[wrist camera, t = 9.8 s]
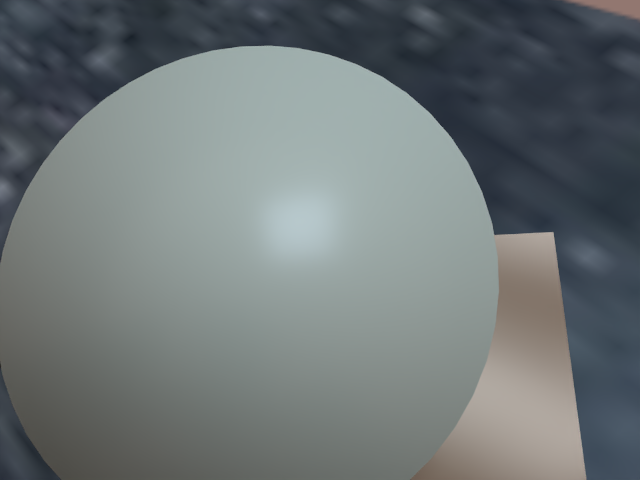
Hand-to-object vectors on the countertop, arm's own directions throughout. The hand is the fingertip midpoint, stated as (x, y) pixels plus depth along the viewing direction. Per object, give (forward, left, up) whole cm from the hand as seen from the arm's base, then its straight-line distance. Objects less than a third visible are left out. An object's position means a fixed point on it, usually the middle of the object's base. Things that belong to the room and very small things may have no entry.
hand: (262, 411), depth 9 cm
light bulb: (+1, 0, -10) cm, 10 cm away
